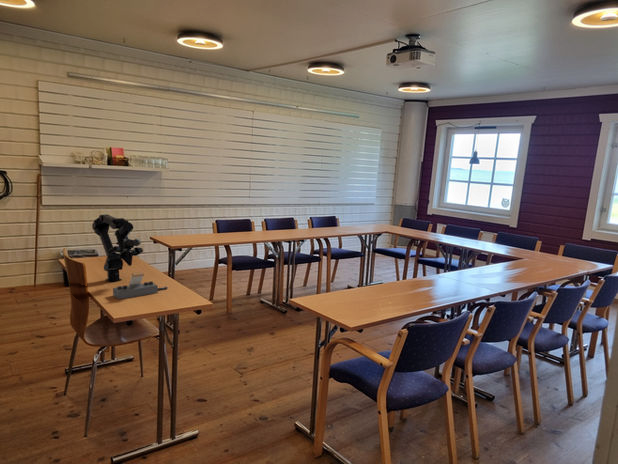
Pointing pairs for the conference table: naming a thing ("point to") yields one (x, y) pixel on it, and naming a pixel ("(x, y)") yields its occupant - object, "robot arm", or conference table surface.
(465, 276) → the conference table surface
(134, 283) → the lever
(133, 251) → the robot arm
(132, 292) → the breaker box
